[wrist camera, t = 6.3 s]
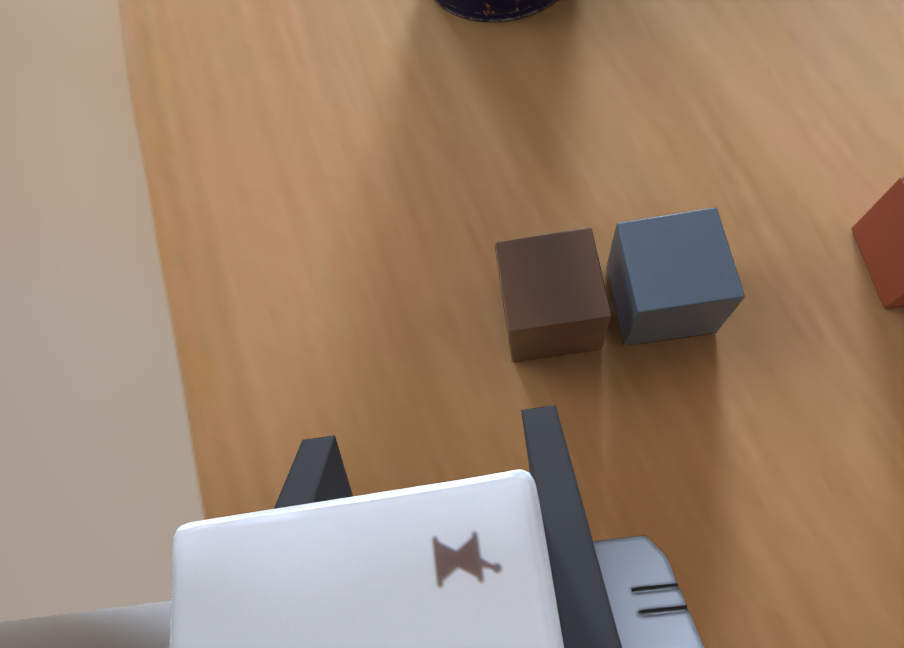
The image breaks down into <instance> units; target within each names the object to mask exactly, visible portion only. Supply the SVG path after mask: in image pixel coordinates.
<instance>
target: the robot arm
mask: <svg viewBox="0 0 904 648" xmlns="http://www.w3.org/2000/svg"><path fill="white" fill-rule="evenodd" d="M521 412H522V419H523V426H524V433H525V440H526V447H527V454H528V461H529V468H530V475H531V476H532V478H533V479H534V481H535V484H536V488H537V493H538V498H539V503H540V508H541V514H542V520H543V526H544V532H545V538H546V543H547V549H548V555H549V561H550V567H551V573H552V579H553V585H554V591H555V596H556V602H557V608H558V614H559V620H560V626H561V632H562V638H563V644H564V648H704V646H703V643H702V641H701V639H700V636H699V634H698V631H697V629H696V627H695V624H694V622H693V619H692V617H691V614H690V612H689V611H688V609H687V605H686V602H685V600H684V598H683V595H682V593H681V590H680V588H678V583H677V581H676V578H675V576H674V573H673V571H672V569H671V566H670V564H669V561H668V559H667V556H666V555H665V554H663V553H662V552H661V551H660V550H659V549H658V548H657V547H656V546H655V545H654V544H653V543H652V542H651V541H650V540H649V539H648V538H647V537H646V536H645V535H644V536H635V537H627V538H618V539H610V540H601V541H593V540H592V536H591V532H590V529H589V525H588V521H587V518H586V514H585V511H584V507H583V503H582V500H581V496H580V492H579V489H578V485H577V481H576V478H575V474H574V470H573V467H572V463H571V460H570V456H569V452H568V449H567V445H566V441H565V438H564V434H563V430H562V427H561V423H560V420H559V416H558V412H557V409H556V405H555V406H548V407H540V408H533V409H526V410H521ZM347 497H353V495H352V492H351V488H350V485H349V482H348V478H347V475H346V472H345V468H344V465H343V461H342V458H341V455H340V451H339V448H338V444H337V441H336V438H335V436H328V437H321V438H313V439H306V440H302V442H301V445H300V447H299V450H298V452H297V454H296V457H295V459H294V462H293V464H292V467H291V469H290V471H289V474H288V476H287V479H286V481H285V484H284V486H283V488H282V491H281V493H280V496H279V498H278V500H277V503H276V505H275V508H274V509H278V508H284V507H290V506H297V505H303V504H309V503H316V502H322V501H328V500H335V499H341V498H347Z"/></svg>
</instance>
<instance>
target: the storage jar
mask: <svg viewBox="0 0 904 648" xmlns="http://www.w3.org/2000/svg"><path fill="white" fill-rule="evenodd" d="M556 1H557V0H435V2H436V3H437V4H439V5H440V6H441V7H442V8H444V9H445V10H447V11H449V12H451V13H452V14H454V15H457V16H460V17H463V18H466V19H470V20H475V21H484V22H501V21H508V20H515V19H519V18H522V17H526V16H529V15H532V14H534V13H537V12H539V11H541V10H543V9H545V8H547V7H548V6H550V5H552V4H553V3H555V2H556Z"/></svg>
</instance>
